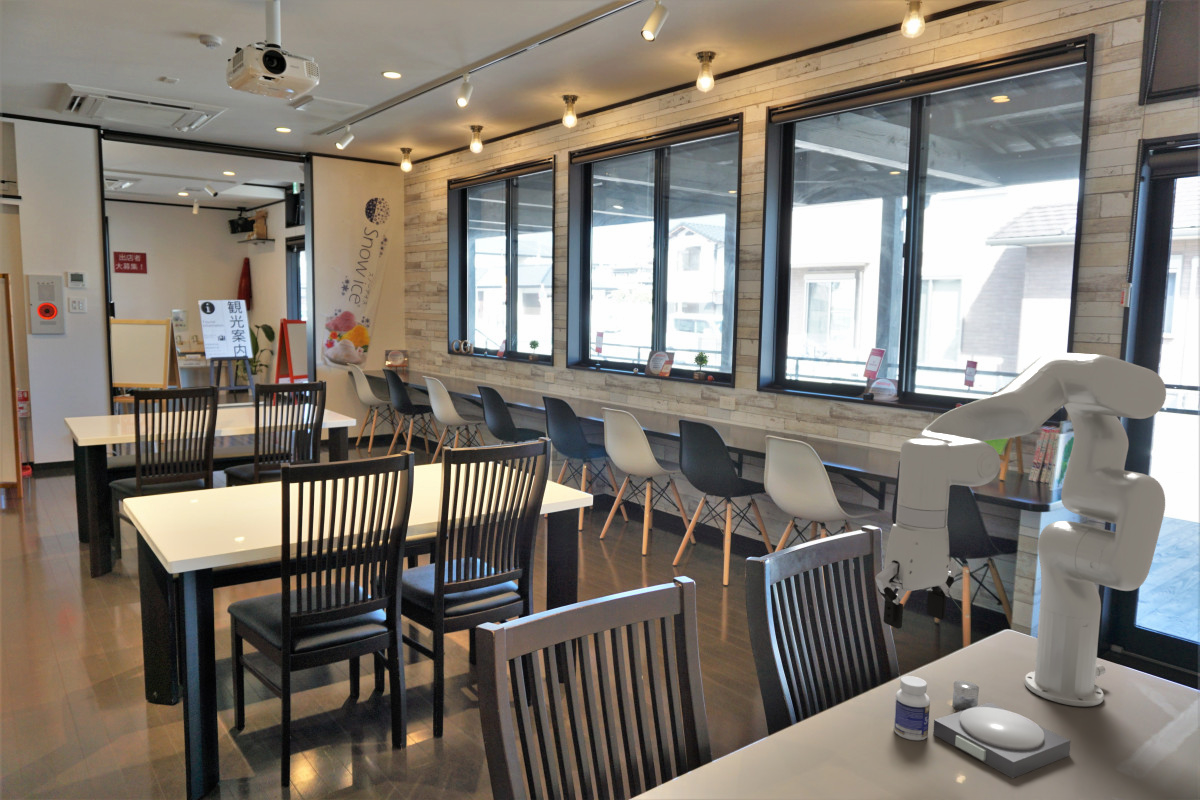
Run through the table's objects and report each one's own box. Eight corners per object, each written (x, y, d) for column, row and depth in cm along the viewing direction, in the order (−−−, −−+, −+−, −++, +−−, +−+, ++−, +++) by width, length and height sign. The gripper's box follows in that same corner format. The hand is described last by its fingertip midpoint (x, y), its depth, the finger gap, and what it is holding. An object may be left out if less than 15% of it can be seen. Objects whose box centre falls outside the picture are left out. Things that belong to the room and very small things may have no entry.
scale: (988, 715, 137) (990, 697, 137) (1069, 755, 125) (1070, 735, 124) (931, 735, 130) (932, 715, 130) (1010, 779, 118) (1011, 757, 117)
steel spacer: (962, 700, 143) (963, 678, 142) (982, 710, 139) (983, 688, 139) (947, 704, 141) (948, 683, 140) (967, 714, 137) (968, 692, 137)
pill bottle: (930, 743, 128) (934, 690, 127) (896, 739, 129) (899, 686, 128) (924, 726, 133) (927, 675, 132) (891, 723, 134) (894, 672, 133)
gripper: (940, 507, 134) (933, 606, 135) (863, 516, 126) (857, 620, 128) (979, 517, 127) (971, 621, 129) (900, 527, 119) (893, 637, 121)
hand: (914, 621), depth 128 cm, fingers open, 9 cm apart
